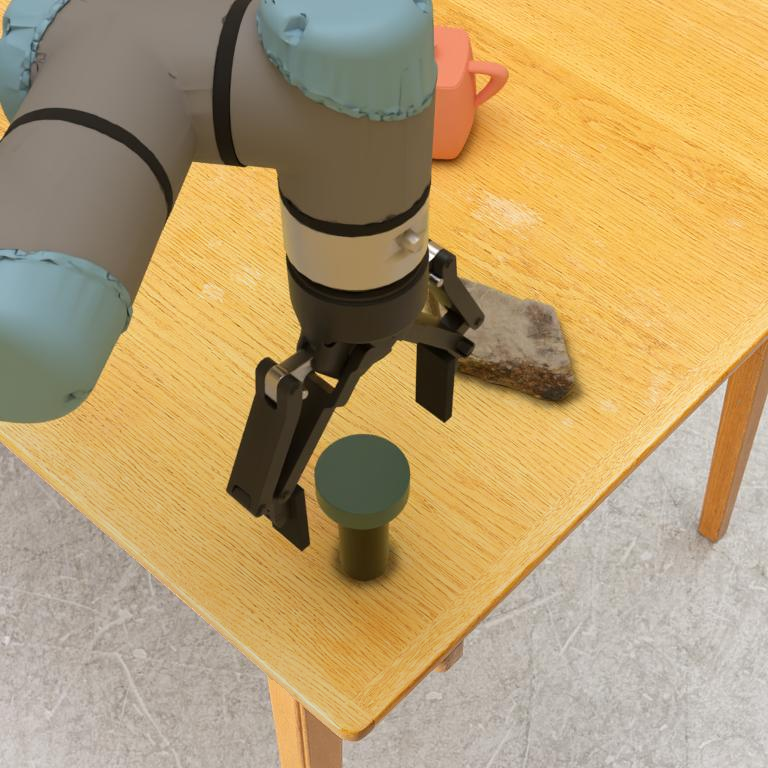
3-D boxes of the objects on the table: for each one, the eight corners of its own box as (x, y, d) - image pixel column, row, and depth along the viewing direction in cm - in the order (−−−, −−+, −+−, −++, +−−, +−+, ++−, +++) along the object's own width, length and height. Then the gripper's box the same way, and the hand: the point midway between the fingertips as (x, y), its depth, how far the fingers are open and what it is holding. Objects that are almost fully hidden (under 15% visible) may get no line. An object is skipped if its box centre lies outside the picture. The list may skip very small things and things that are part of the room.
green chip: (320, 535, 77) (319, 519, 76) (311, 455, 81) (309, 439, 80) (416, 523, 78) (417, 508, 76) (402, 445, 82) (402, 428, 80)
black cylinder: (343, 584, 86) (339, 514, 78) (337, 542, 88) (333, 469, 81) (391, 579, 87) (392, 508, 79) (384, 536, 89) (385, 464, 81)
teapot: (497, 174, 113) (506, 87, 105) (313, 154, 115) (308, 67, 106) (507, 98, 120) (517, 11, 112) (334, 81, 122) (331, -7, 113)
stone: (594, 337, 101) (600, 314, 98) (566, 409, 96) (571, 387, 94) (433, 288, 104) (434, 264, 102) (398, 355, 99) (398, 332, 97)
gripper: (227, 429, 54) (266, 632, 71) (562, 158, 65) (527, 390, 82) (123, 343, 57) (184, 557, 74) (460, 99, 68) (446, 334, 85)
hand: (365, 470), depth 78 cm, fingers open, 13 cm apart
